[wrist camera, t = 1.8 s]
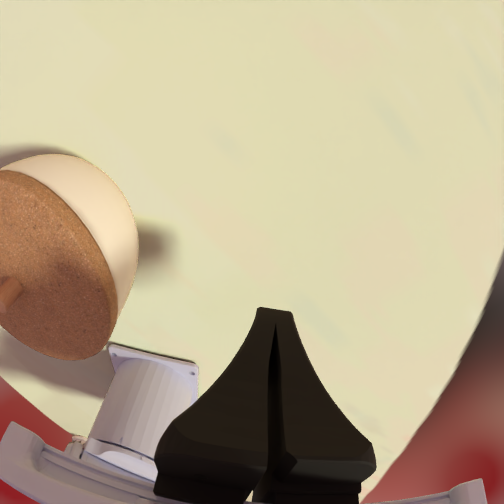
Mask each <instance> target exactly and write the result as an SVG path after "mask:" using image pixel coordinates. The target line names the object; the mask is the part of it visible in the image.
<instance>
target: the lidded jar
mask: <svg viewBox="0 0 504 504" xmlns="http://www.w3.org/2000/svg"><path fill="white" fill-rule="evenodd" d="M138 253H139V239H138V230H137V226H136V223H135V219H134V215H133V213H132V210H131V208H130V205H129V203H128V201H127V199H126V197H125V196H124V194H123V192H122V191H121V190H120V188H119V187H118V186H117V184H116V183H115V182H114V181H113V180H112V179H111V178H110V177H109V176H108V175H107V174H106V173H105V172H103V171H102V170H101V169H99V168H98V167H96V166H94V165H93V164H91V163H89V162H87V161H86V160H83V159H80V158H77V157H74V156H68V155H62V154H44V155H36V156H32V157H29V158H26V159H22V160H19V161H16V162H13V163H11V164H9V165H7V166H4V167H2V168H0V325H1V326H2V327H3V328H4V329H5V330H7V331H8V332H9V333H10V334H11V335H13V336H14V337H15V338H17V339H18V340H19V341H21V342H22V343H24V344H25V345H27V346H29V347H31V348H32V349H34V350H36V351H38V352H40V353H43V354H45V355H48V356H51V357H54V358H58V359H63V360H81V359H86V358H88V357H91V356H94V355H95V354H97V353H98V352H100V351H101V350H102V349H103V347H104V346H105V345H106V343H107V342H108V340H109V338H110V336H111V334H112V332H113V329H114V327H115V324H116V321H117V319H118V317H119V315H120V313H121V311H122V309H123V307H124V305H125V303H126V300H127V298H128V296H129V293H130V290H131V288H132V285H133V282H134V278H135V274H136V269H137V265H138Z"/></svg>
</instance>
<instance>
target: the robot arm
mask: <svg viewBox="0 0 504 504" xmlns="http://www.w3.org/2000/svg"><path fill="white" fill-rule="evenodd" d="M108 349H109V353H110V357H111V361H112V364H113V368H114V371H115V376H114V378H113V380H112V383H111V385H110V387H109V389H108V392H107V394H106V396H105V398H104V401H103V403H102V405H101V408H100V410H99V412H98V415H97V417H96V419H95V422H94V424H93V427H92V429H91V431H90V434H89V436H88V439H87V441H86V442H85V443H84V445H82V444H81V443H79V442H77V441H75V442H74V443H70V444H68V445H67V447H66V449H65V451H64V452H62V451H60V450H57V449H55V448H53V447H51V446H49V445H47V444H45V443H44V441H43V440H42V439H41V438H40V437H39V436H38V435H37V434H35V433H34V432H32V431H30V430H28V429H26V428H24V427H22V426H21V425H19V424H17V423H15V422H10V424H9V426H8V428H7V430H6V432H5V434H4V436H3V438H2V440H1V442H0V479H2V480H3V481H4V482H6V483H7V484H9V485H10V486H12V487H13V488H15V489H16V490H18V491H20V492H21V493H23V494H25V495H26V496H28V497H30V498H32V499H33V500H35V501H37V502H39V503H41V504H359V498H358V493H360V492H361V482H363V481H364V480H366V479H367V478H368V477H370V476H371V475H372V474H373V473H374V472H375V471H376V458H375V454H374V450H373V446H372V443H371V442H370V441H369V440H368V439H367V438H366V437H364V436H363V435H362V434H361V433H360V432H359V431H358V430H357V429H356V428H355V427H354V426H353V424H352V423H351V422H350V421H349V420H348V419H347V418H346V416H345V415H344V414H343V413H342V411H341V410H340V409H339V408H338V406H337V405H336V404H335V402H334V401H333V400H332V398H331V397H330V395H329V394H328V392H327V391H326V389H325V388H324V386H323V384H322V383H321V381H320V379H319V378H318V376H317V374H316V372H315V370H314V368H313V366H312V364H311V362H310V360H309V358H308V356H307V354H306V351H305V349H304V347H303V344H302V342H301V339H300V337H299V334H298V331H297V328H296V325H295V322H294V318H293V314H292V313H291V312H289V311H283V310H276V309H270V308H264V307H259V308H257V311H256V316H255V319H254V322H253V325H252V327H251V329H250V331H249V333H248V335H247V337H246V339H245V341H244V343H243V344H242V346H241V347H240V349H239V351H238V352H237V354H236V355H235V357H234V358H233V360H232V361H231V363H230V364H229V365H228V367H227V368H226V369H225V371H224V372H223V373H222V374H221V376H220V377H219V378H218V379H217V380H216V381H215V382H214V384H213V385H212V386H211V387H210V388H209V389H208V390H207V391H206V392H205V393H204V394H203V395H202V396H201V397H200V398H199V399H198V373H199V367H198V366H197V365H196V364H194V363H190V362H185V361H181V360H176V359H171V358H167V357H163V356H158V355H154V354H150V353H146V352H142V351H138V350H134V349H130V348H126V347H122V346H118V345H115V344H111V345H110V346H109V348H108ZM252 490H253V496H252V502H248V501H246V499H247V498H248V496H249V494H250V493H251V491H252ZM367 504H487V501H486V496H485V491H484V486H483V481H482V479H476V480H473V481H469V482H465V483H462V484H460V485H457V486H455V487H454V488H452V489H451V490H450V491H447V492H442V493H437V494H432V495H427V496H422V497H416V498H409V499H403V500H395V501H387V502H378V503H367Z"/></svg>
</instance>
